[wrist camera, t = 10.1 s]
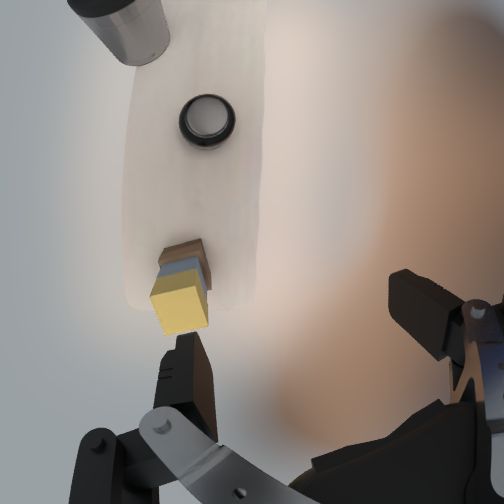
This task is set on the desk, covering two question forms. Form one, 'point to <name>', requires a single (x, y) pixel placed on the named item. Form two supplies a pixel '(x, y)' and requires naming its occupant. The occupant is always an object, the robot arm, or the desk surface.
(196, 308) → the top block
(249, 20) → the desk surface
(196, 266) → the tower mid
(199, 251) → the tower base
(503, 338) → the robot arm
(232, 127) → the supplement bottle
